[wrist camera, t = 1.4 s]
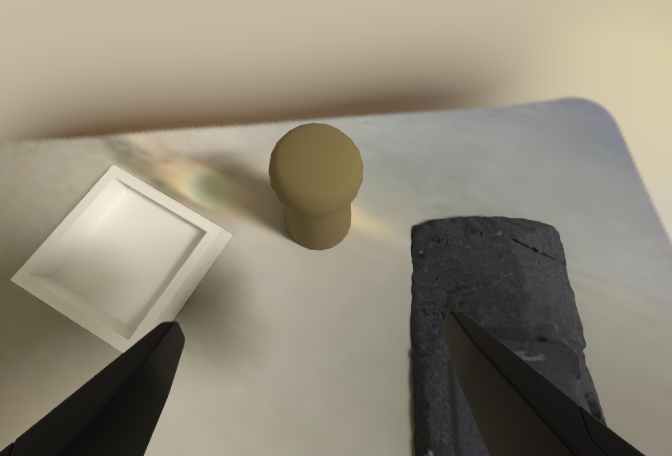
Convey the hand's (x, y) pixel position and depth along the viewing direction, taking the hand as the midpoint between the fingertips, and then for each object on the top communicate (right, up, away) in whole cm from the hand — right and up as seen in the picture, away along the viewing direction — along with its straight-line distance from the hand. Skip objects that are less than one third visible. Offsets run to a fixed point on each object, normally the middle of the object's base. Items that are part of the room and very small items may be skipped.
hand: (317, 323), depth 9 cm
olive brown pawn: (-1, +4, +15) cm, 15 cm away
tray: (-16, +1, +13) cm, 20 cm away
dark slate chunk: (+14, -7, +14) cm, 21 cm away
